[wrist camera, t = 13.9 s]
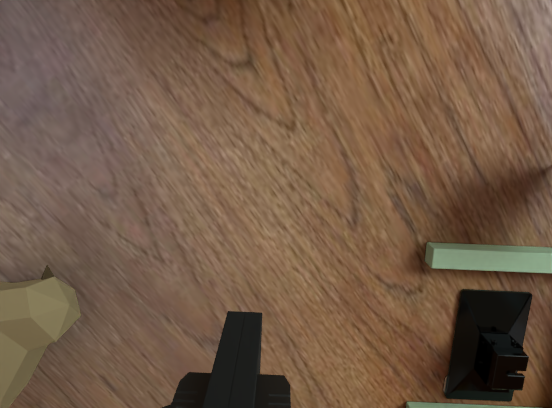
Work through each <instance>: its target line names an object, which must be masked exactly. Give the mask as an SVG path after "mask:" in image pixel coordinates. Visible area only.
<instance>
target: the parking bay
mask: <svg viewBox="0 0 552 408" xmlns="http://www.w3.org/2000/svg"><path fill="white" fill-rule="evenodd" d="M425 262H426V263H427V264H428V265H429V266H430V267H431V268H436V269H460V270H483V271H506V272H529V273H552V247H528V246H505V245H482V244H458V243H435V242H427V246H426V254H425ZM406 408H541V407H518V406H496V405H473V404H451V403H428V402H407V403H406Z"/></svg>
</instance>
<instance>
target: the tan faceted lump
mask: <svg viewBox="0 0 552 408" xmlns="http://www.w3.org/2000/svg"><path fill="white" fill-rule="evenodd" d="M80 316H81V313H80V309H79V305H78V300H77V296H76V292H75V289H73V288H72V287H70V286H69V285H67V284H65V283H64V282H62V281H61V280H59V279H57V278H56V277H54V275H53V273H52V272H51V270H50V268H49V267H48V265H47V266H46V268H45V271H44V273H43V276H42V278H41V279H36V280H30V281H23V282H17V283H9V282H0V408H9V406H10V405H11V404H12V403H13V401H14V400H15V399H16V398H17V396H18V395H19V394H20V393H21V391H22V390H23V389H24V388H25V386H26V385H27V384H28V382H29V380H30V378H31V376H32V374H33V373H34V371H35V369H36V367H37V365H38V363H39V361H40V359H41V357H42V356H43V354H44V352H45V350H46V348H47V346H48V344H50V343H53V342H56V341H57V340H58V339H59V338H60V337H61V336H62V335H63V334H64V333H65V332H66V331H67V330H68V329H69V328H70V327H71V326H72V325H73V324H74V322H75V321H76V320H77V319H78V318H79V317H80Z"/></svg>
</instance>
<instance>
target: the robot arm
mask: <svg viewBox="0 0 552 408" xmlns="http://www.w3.org/2000/svg"><path fill="white" fill-rule="evenodd" d="M261 332H262V313H255V312H232V311H228V313H227V317H226V321H225V324H224V328H223V332H222V336H221V339H220V343H219V347H218V350H217V354H216V358H215V362H214V365H213V369H212V373H194V372H189V373H188V374H187V375H186V376H185V377H183V378H182V379H181V380H180V382H179V385H178V387H177V390H176V393H175V395H174V398H173V402H172V403H171V405H168V406H165V407H162V408H291V402H290V384H289V382H288V381H287V379H286V378H285V376H284V375H262V374H260V360H261Z"/></svg>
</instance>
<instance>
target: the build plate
mask: <svg viewBox="0 0 552 408" xmlns="http://www.w3.org/2000/svg"><path fill="white" fill-rule="evenodd" d="M531 300H532V294H531V293H529V292H512V291H491V290H470V289H463V290H461V294H460V301H459V307H458V314H457V320H456V327H455V333H454V339H453V346H452V352H451V359H450V365H449V372H448V375H447V376H446V377H445V381H444V388H443V391H444V393H445V396H446V398H449V399H470V400H491V401H511V400H512V397H513V391H514V390H522V388H523V383H524V378H525V376H524V375H523V374H521V373H517V371H526V368H527V363H528V358H529V357H528V356H527V355H526V354H525V353H524V352H523V347H522V346H523V341H524V335H525V330H526V325H527V320H528V315H529V310H530V305H531Z"/></svg>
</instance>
